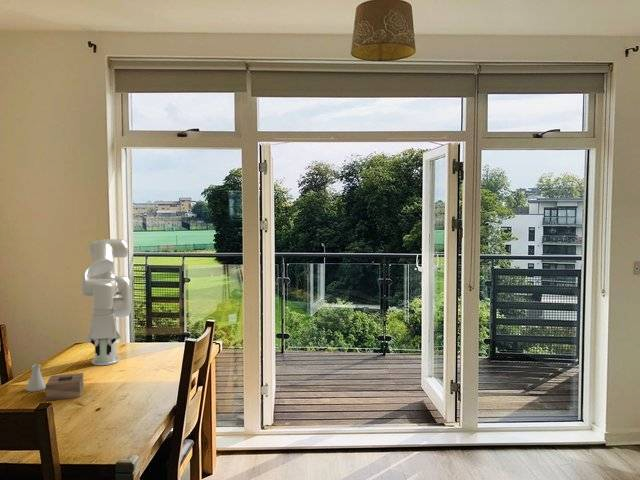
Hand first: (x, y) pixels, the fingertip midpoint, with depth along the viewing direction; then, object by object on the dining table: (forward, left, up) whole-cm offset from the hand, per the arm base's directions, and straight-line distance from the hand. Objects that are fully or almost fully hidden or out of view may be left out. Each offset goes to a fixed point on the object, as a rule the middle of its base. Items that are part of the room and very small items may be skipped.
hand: (103, 354), depth 205 cm
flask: (-5, -26, -14) cm, 30 cm away
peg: (0, 0, -3) cm, 3 cm away
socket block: (+4, -14, -14) cm, 20 cm away
